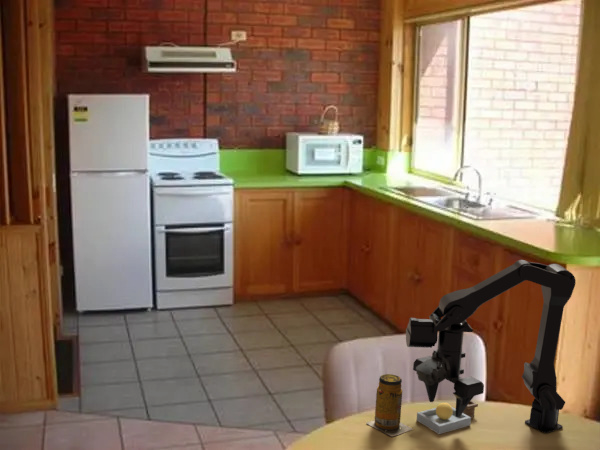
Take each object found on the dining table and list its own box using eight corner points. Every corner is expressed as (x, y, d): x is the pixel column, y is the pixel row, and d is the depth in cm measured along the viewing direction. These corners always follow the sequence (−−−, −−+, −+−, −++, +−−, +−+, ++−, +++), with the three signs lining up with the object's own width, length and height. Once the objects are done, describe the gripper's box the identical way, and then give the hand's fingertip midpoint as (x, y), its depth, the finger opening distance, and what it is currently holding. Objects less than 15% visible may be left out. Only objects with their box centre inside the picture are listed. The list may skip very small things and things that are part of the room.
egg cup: (467, 410, 186) (468, 398, 186) (476, 416, 184) (478, 403, 183) (458, 413, 185) (459, 401, 184) (467, 418, 182) (468, 406, 181)
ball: (444, 413, 182) (445, 398, 181) (455, 420, 179) (456, 404, 178) (431, 417, 180) (432, 401, 179) (443, 424, 176) (444, 408, 176)
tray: (447, 411, 185) (447, 404, 185) (470, 425, 179) (470, 417, 178) (416, 420, 180) (417, 412, 180) (439, 434, 173) (439, 426, 173)
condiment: (387, 416, 182) (390, 370, 179) (413, 429, 175) (416, 381, 173) (365, 423, 177) (368, 376, 175) (391, 437, 171) (395, 389, 168)
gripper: (398, 340, 179) (393, 400, 182) (452, 367, 164) (446, 432, 167) (433, 333, 185) (428, 392, 188) (488, 359, 170) (482, 422, 173)
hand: (444, 409), depth 179 cm, fingers open, 9 cm apart
